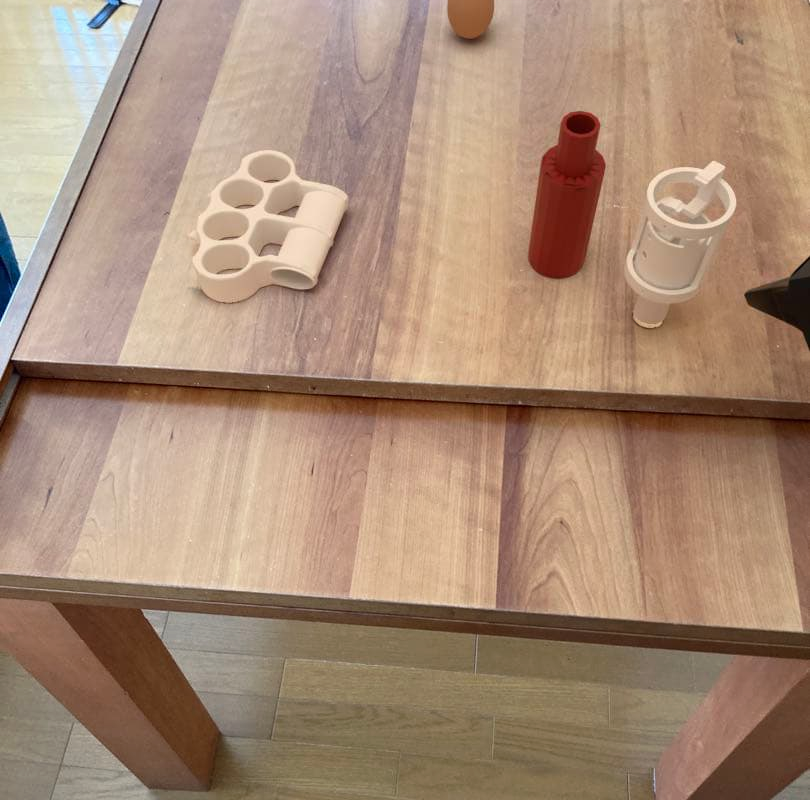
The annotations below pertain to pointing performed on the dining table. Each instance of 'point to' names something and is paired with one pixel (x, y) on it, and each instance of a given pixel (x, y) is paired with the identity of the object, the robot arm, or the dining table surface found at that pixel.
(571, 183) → the sauce bottle
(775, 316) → the robot arm
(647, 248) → the cream cylindrical cage part
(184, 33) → the dining table surface
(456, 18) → the egg
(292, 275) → the knuckle duster
